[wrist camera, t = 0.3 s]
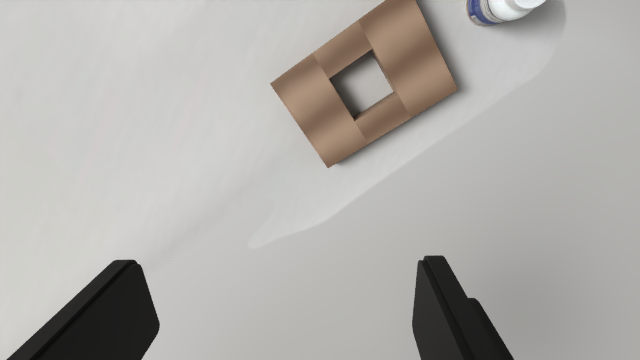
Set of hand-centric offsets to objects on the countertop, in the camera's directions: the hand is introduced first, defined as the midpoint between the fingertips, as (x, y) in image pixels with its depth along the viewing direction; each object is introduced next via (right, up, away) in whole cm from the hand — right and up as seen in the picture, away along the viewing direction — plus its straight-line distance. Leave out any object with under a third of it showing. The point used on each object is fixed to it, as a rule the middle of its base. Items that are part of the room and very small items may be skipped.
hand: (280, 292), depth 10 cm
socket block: (+7, +17, +32) cm, 37 cm away
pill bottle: (+22, +26, +28) cm, 44 cm away
